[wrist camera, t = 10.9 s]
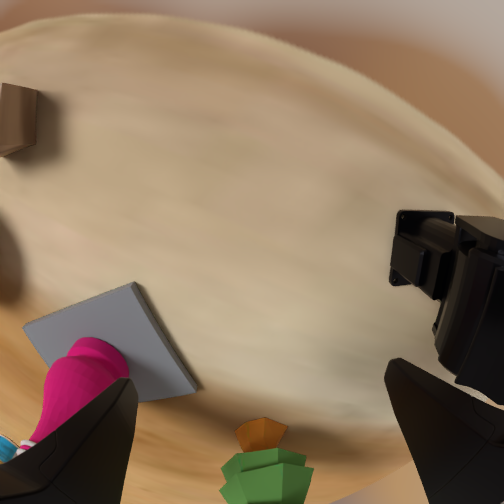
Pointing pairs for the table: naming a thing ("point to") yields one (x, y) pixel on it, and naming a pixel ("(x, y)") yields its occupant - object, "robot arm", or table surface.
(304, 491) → the decorative tree
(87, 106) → the table surface
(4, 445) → the beverage bottle
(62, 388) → the pepper mill
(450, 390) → the robot arm
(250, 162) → the table surface
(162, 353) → the slate board
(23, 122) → the walnut block
